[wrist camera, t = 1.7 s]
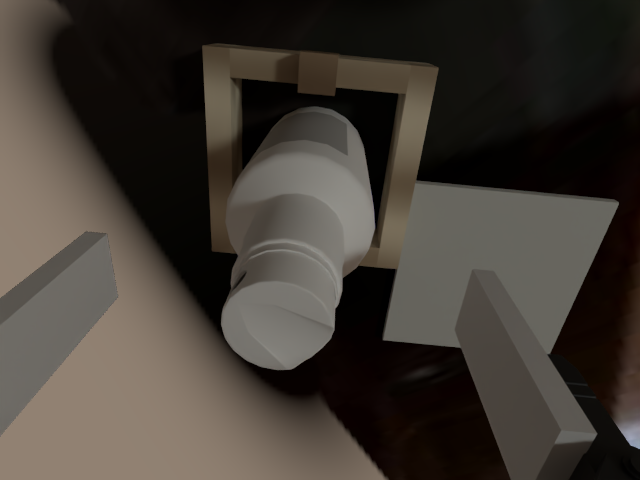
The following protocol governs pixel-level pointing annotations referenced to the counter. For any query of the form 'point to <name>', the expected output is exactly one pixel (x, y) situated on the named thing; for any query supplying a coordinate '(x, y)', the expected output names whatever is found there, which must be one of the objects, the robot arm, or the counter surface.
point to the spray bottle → (296, 237)
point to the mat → (492, 257)
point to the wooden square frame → (318, 78)
